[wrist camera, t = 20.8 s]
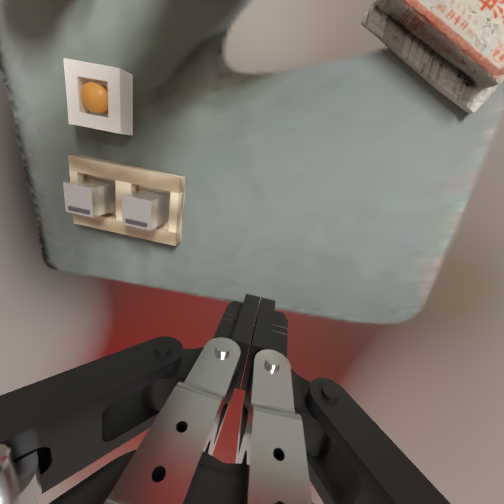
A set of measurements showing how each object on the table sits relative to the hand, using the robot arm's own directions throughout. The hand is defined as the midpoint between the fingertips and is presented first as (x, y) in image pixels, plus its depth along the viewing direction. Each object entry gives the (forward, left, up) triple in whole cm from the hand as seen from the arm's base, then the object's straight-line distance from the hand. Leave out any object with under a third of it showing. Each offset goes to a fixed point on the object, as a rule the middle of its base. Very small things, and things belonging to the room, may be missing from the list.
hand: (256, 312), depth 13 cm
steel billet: (+4, -29, -29) cm, 41 cm away
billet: (+4, -20, -29) cm, 35 cm away
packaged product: (-24, +15, -30) cm, 41 cm away
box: (-10, -28, -29) cm, 42 cm away
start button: (-10, -28, -28) cm, 41 cm away
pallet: (+4, -24, -29) cm, 38 cm away
